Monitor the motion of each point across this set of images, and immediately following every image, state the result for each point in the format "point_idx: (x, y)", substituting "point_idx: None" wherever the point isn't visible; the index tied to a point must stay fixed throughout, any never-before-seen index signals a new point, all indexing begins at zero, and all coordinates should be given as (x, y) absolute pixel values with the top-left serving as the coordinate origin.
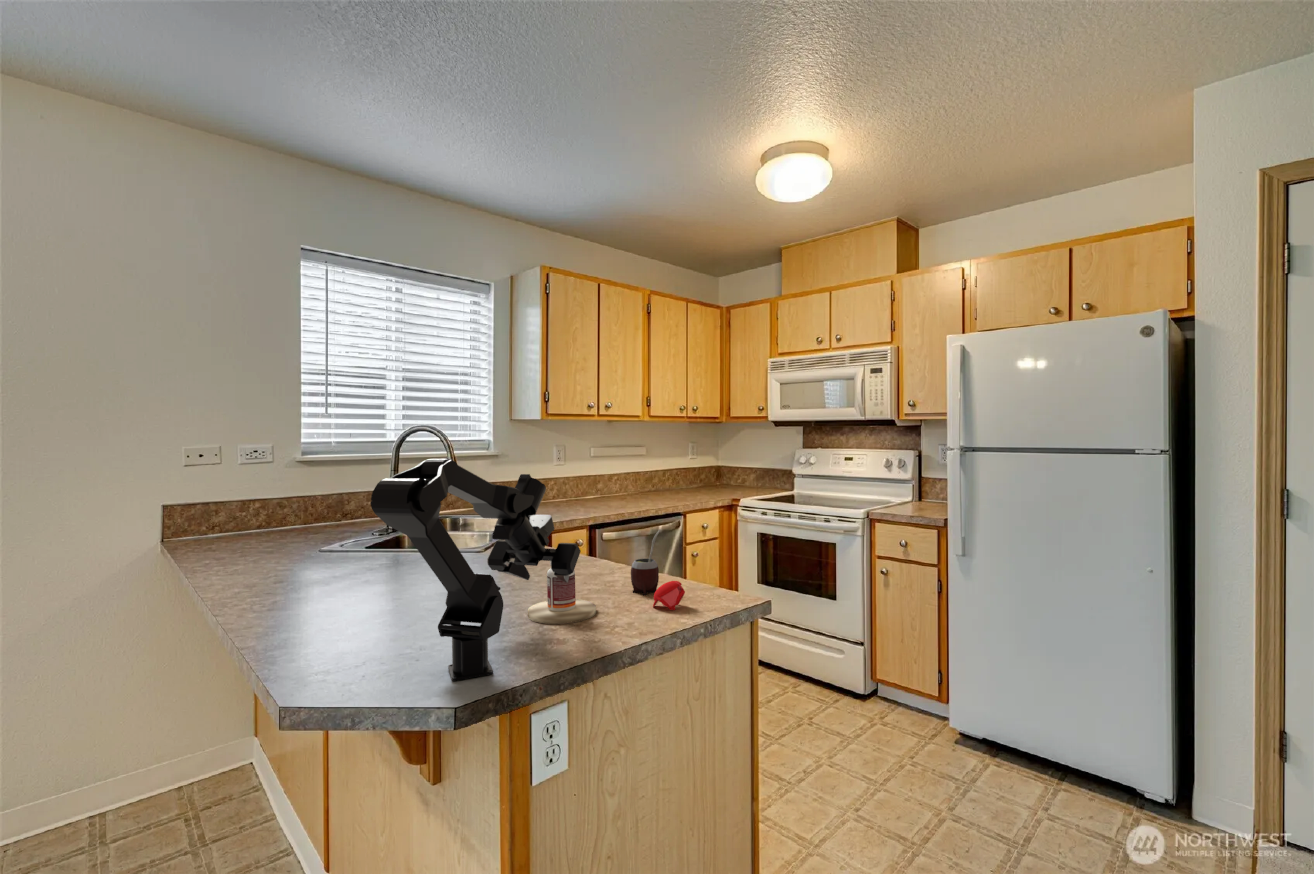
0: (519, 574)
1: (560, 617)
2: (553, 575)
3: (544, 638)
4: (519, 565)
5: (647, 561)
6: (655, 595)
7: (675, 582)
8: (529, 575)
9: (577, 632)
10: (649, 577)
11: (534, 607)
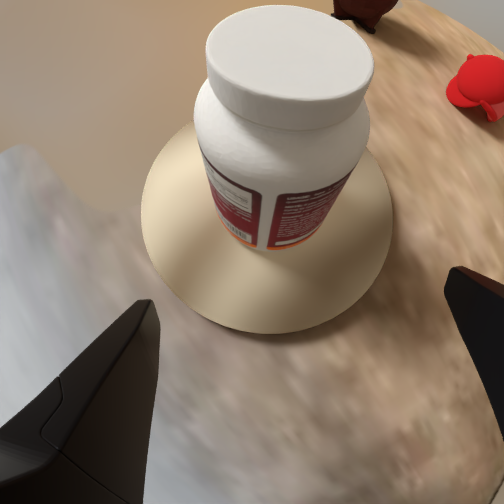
0: (143, 452)
1: (337, 307)
2: (288, 187)
3: (362, 453)
4: (103, 465)
5: None
6: (478, 94)
7: None
8: (151, 309)
9: (426, 363)
10: (394, 2)
11: (161, 227)
